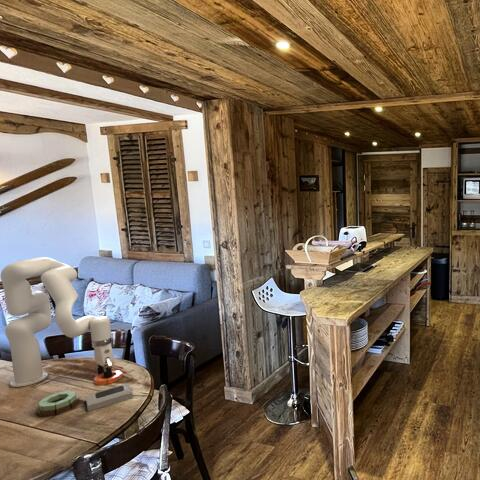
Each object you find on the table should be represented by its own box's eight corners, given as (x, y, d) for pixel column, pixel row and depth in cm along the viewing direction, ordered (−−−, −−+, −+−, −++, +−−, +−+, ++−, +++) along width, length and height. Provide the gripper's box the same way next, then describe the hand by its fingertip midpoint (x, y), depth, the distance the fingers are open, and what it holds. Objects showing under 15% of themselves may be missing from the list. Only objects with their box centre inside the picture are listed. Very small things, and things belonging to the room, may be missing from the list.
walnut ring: (34, 410, 148) (33, 405, 148) (72, 396, 158) (71, 391, 158) (43, 419, 142) (43, 414, 142) (82, 404, 152) (82, 400, 152)
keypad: (85, 393, 154) (128, 381, 165) (86, 401, 155) (128, 389, 165) (87, 403, 147) (131, 390, 158) (87, 411, 148) (132, 397, 158)
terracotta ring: (91, 380, 171) (91, 377, 171) (116, 372, 180) (116, 368, 180) (100, 387, 166) (99, 383, 166) (125, 377, 175) (125, 374, 175)
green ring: (35, 404, 148) (35, 400, 148) (70, 392, 158) (70, 388, 157) (44, 413, 142) (43, 409, 142) (80, 400, 152) (79, 396, 152)
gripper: (118, 343, 172) (121, 377, 174) (103, 335, 180) (107, 368, 183) (99, 348, 165) (103, 384, 168) (85, 340, 174) (88, 374, 176)
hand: (105, 375), depth 175 cm, fingers open, 6 cm apart
